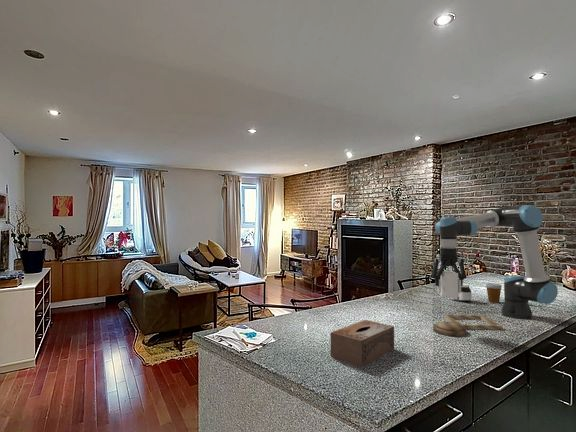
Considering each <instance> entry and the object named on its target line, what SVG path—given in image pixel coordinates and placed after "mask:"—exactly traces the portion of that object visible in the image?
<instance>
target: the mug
mask: <svg viewBox="0 0 576 432" xmlns="http://www.w3.org/2000/svg"><path fill="white" fill-rule="evenodd" d="M458 279H459V278H458V273H455V271H454V270H453V271H452V270H451V271H450V270H449V271H448V270H443V272H442V274H441V276H440V280H441V293H439V295H440V296H441V297H443V298H449V299H451V298H454V299H457V298H458V297H459V294H458Z"/></svg>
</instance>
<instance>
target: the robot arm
mask: <svg viewBox="0 0 576 432" xmlns="http://www.w3.org/2000/svg"><path fill="white" fill-rule="evenodd" d="M543 219H544V216H543V214H542V211H541V210H540V209H539V208H538V207H537V206H536V205H526V204H523V205H509V206H508V205H506V206H503V207H499V208H495V209H491V210H487V211H485V213H480V214H474V215H469V216H465V217H464V216H463V217H459V218H458V217H456V216H442V217H440V218H439V221H437V222H436V223H435V226H434V229H435V232H436V233H437V234H438V235H439V242H440V243H439V244H440V245H439V246H440V253H439V255H440V257H439V258H435V257H434V259H433V267H432V271H431V276H430V277H431V278H432V279H434V281H435V287H436V292H437V293H438V294H440V293H441V274H442V272H443V271H445V269H446V267H452V269H453V272H455V273H458V293H461V286H463V284H464V280H465V279H467V278H468V276H467V272H466V268H465V265H464V258H459V257H458V247H457V246H458V240H457V239H458V238H457V236H474V235H475V234H477V232H478V230H479V229H481V228H487V227H491V228H496V227H509V228H510V227H511V228H512V231H513V232H514V233H515V234H517V238H518V243H519V246H520V251H521V257H522V262H523V266H524V271H525V275H507V276H505V277H504V280H503V291H504V293H503V294H504V302H503V304H502V306H501V310H500V313H501V315H502V316H505V317H509V318H512V319H532V318H533V312H532V309H531V306H530V304H529V302H530V301H531V302H535V303H539V304H544V305H550V304H552V303H553V302H554V301H555V300H556V299H557V296H558V293H559V289H558V286H557V285H556V284H555V283H553V282H551V279H550V276H549V275H547V274H546V271H545V266H544V262H543V257H542V251H541V248H540V243H539V238H538V231H539V229H540V226H541V225H542V224H543ZM440 262H441V263H440ZM456 263H458V265H457V264H456ZM439 264H440V266H439ZM458 266H459V268H458ZM438 267H439V268H438Z"/></svg>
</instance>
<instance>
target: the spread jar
mask: <svg viewBox="0 0 576 432" xmlns="http://www.w3.org/2000/svg"><path fill="white" fill-rule="evenodd" d="M471 289H472V288H471V287H470V284H469V283H463V286H461V293H458V294H459V297H458V298H456V300H457V301H458V302H459V301H460V302H461V303H470V302H471V301H472V290H471ZM450 299H451V300H452V301H454V300H455V298H450Z"/></svg>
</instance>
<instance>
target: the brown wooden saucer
mask: <svg viewBox="0 0 576 432" xmlns="http://www.w3.org/2000/svg"><path fill="white" fill-rule="evenodd" d="M432 328H433V330H432V331H433V332H434V333H436V334H439V335H442V336H446V337H464V336H466V335H467V329H466V328H465V327H463V326H462V325H460V324H458V323H453V322H450V321H438V322H436V323H435V324H434V323H433V325H432Z"/></svg>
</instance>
